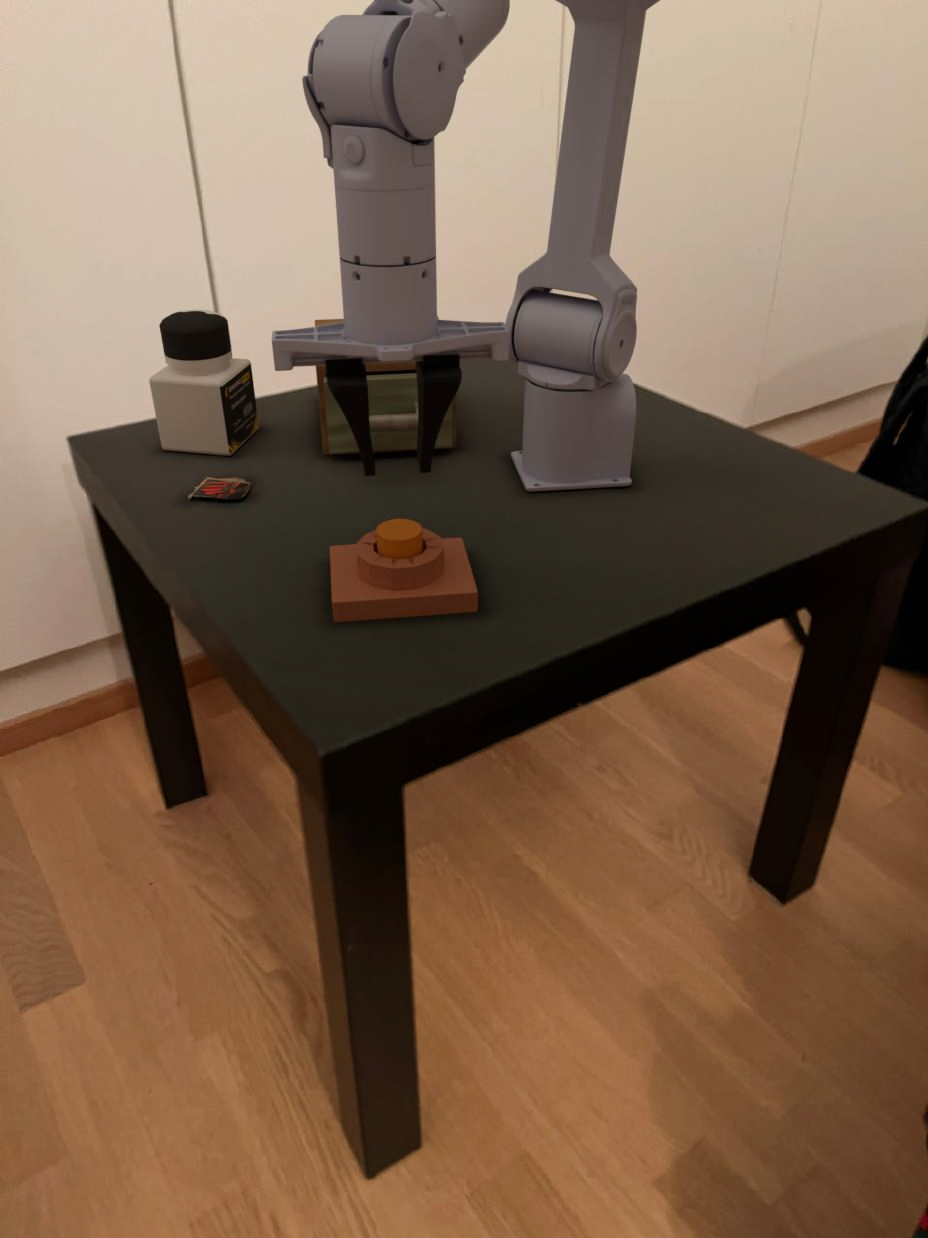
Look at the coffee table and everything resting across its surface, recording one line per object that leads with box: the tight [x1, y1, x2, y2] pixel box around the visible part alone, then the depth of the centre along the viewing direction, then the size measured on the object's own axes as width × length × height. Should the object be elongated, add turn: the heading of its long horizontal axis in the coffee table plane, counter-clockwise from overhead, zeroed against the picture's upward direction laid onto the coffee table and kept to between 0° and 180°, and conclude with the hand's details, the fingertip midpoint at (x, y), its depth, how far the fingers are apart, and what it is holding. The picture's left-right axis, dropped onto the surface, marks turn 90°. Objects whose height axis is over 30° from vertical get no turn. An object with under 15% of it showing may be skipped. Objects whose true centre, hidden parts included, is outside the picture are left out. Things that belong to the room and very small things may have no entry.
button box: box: [329, 527, 479, 623], centre depth 67 cm, size 10×8×4 cm
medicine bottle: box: [148, 309, 260, 457], centre depth 87 cm, size 7×7×12 cm
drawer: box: [323, 370, 452, 453], centre depth 88 cm, size 18×11×7 cm, turn 8°
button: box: [375, 518, 423, 559], centre depth 66 cm, size 3×3×2 cm
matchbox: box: [187, 476, 251, 502], centre depth 81 cm, size 5×5×1 cm
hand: (396, 468), depth 63 cm, fingers open, 3 cm apart
